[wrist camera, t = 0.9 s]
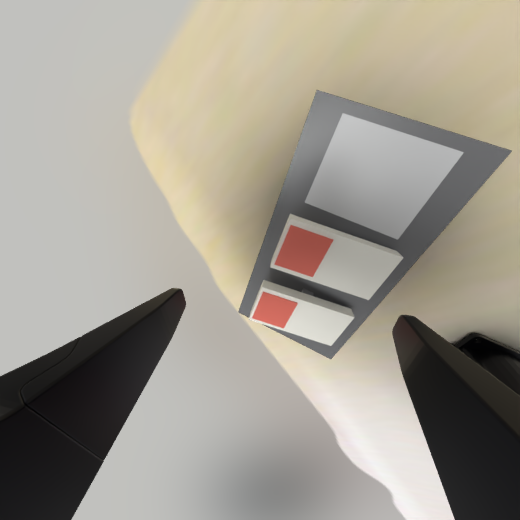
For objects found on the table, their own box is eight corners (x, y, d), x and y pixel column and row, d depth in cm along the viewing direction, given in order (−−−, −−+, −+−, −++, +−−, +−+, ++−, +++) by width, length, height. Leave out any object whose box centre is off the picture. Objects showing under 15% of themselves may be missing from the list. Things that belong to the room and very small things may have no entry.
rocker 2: (351, 308, 17) (354, 318, 16) (329, 337, 19) (331, 347, 18) (263, 279, 16) (262, 287, 16) (250, 311, 18) (248, 320, 18)
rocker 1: (396, 250, 14) (404, 258, 13) (364, 291, 16) (369, 301, 15) (290, 213, 13) (290, 218, 12) (271, 260, 15) (270, 268, 14)
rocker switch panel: (476, 153, 13) (524, 149, 10) (331, 337, 23) (330, 366, 20) (319, 103, 14) (315, 85, 11) (248, 296, 24) (235, 316, 21)
